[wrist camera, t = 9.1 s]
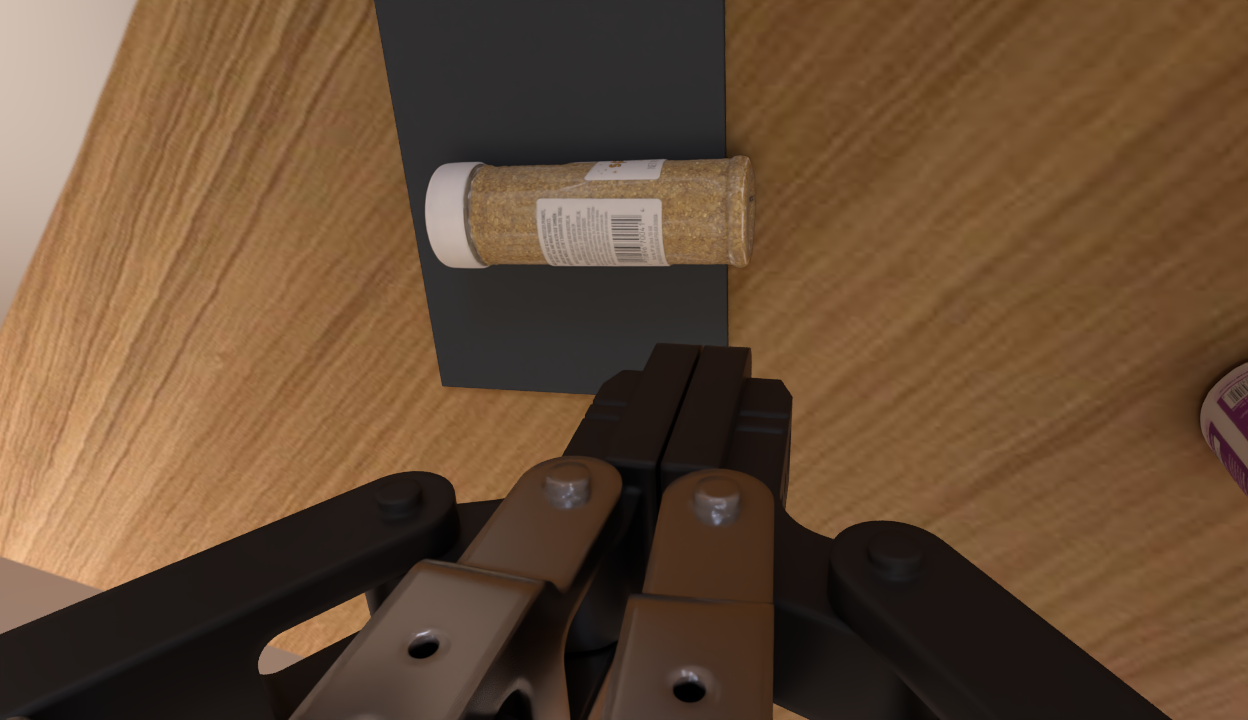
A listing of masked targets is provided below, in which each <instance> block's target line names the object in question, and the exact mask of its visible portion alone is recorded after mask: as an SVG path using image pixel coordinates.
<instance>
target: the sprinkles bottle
mask: <svg viewBox="0 0 1248 720" xmlns="http://www.w3.org/2000/svg"><path fill="white" fill-rule="evenodd" d="M425 219H426V228H427V233H428V237H429V241H430V244H431V246H432V249H433V251H434V253H435V254H436V256H437V258H438V259H439V260H440V261H441V262H442V263H443V264H445V265H446V266H449V267H453V268H486V267H488V266H490V265H493V264H495V265H498V264H528V265H529V264H549V265H552V266H670V265H672V264H731V265H733V266H735V267H745V266H746V265H747V264H748V263H749V261H750V258H751V255H752V247H753V232H754V220H755V177H754V172H753V167H752V164H751V162H750V159H749V158H748V157H746V156H743V155H737V156H734V157H733V158H730V159H728V158H724V159H706V160H705V159H699V160H677V161H674V160H670V161H669V160H667V159H656V160H631V161H602V162H577V163H568V164H564V165H534V166H533V165H527V166H510V167H508V166H501V167H495V166H493V165H486V164H484V163H482V162H462V163H448V164H444V165H442V166H440V167H439V168H438V169H437V170H436V171H435V172H434V174H433V176H432V177H431V180H430V182H429V185H428V189H427V194H426V202H425Z"/></svg>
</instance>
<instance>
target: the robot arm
mask: <svg viewBox="0 0 1248 720" xmlns="http://www.w3.org/2000/svg"><path fill="white" fill-rule="evenodd" d="M751 368H752V357H751V348H748V347H730V346H713V345H705V346H704V348H703V346H702V345H693V344H675V343H656V345H655V347H654V349H653V351H652V353H651V355H650V357H649V359H648V361H647V363H646V365H645V367H644V369H643V371H637V370H622V371H621V372H619V373H618V374H616V375H615V376H613V377H612V378H610V379H609V380H607V381H606V382H604V383H603V384H602V386H601V387H600V389H599V391H598V393H597V395H596V396H595V398H594V400H593V404H591V405H590V407H589V409H588V411H587V412H586V414H585V418H583V419H582V421H581V423H580V425H579V427H578V428H577V430H576V432H575V434H574V435H573V437H572V439H571V441H570V443H569V444H568V446H567V448H566V450H565V451H564V453H563V455H562V457H558V458H553V459H550V460H547V461H544V462H541V463H539V464H537V465H535V466H534V467H532V468H530V469H529V470H528V471H526V472H525V473H524V474H523V475H522V476H521V477H520V479H519V480H518V481H517V483H516V484H515V485H514V487H513V488H512V489H511V491H510V492H509V493H508V495H507V496H506V497H505V498H503V499H497V500H489V501H479V502H470V503H460V504H457V502H456V496H455V490H454V488H453V485H452V484H451V483H450V482H449V480H447V479H446V478H444V477H442V476H440V475H438V474H434V473H431V472H424V471H410V472H402V473H396V474H392V475H388V476H385V477H382V478H380V479H377V480H375V481H372V482H370V483H367V484H365V485H362V486H360V487H358V488H355V489H353V490H350V491H348V492H345V493H343V494H341V495H338V496H336V497H333V498H331V499H328V500H326V501H324V502H321V503H319V504H316V505H314V506H311V507H309V508H307V509H304V510H302V511H299V512H297V513H294V514H292V515H289V516H287V517H285V518H282V519H280V520H277V521H275V522H272V523H270V524H268V525H265V526H263V527H260V528H258V529H255V530H253V531H251V532H248V533H246V534H243V535H241V536H238V537H236V538H234V539H231V540H229V541H226V542H224V543H221V544H219V545H216V546H214V547H212V548H209V549H207V550H204V551H202V552H199V553H197V554H195V555H192V556H190V557H187V558H185V559H182V560H180V561H178V562H175V563H173V564H170V565H168V566H165V567H163V568H160V569H158V570H156V571H153V572H151V573H148V574H146V575H143V576H141V577H139V578H136V579H134V580H131V581H129V582H126V583H124V584H122V585H119V586H117V587H114V588H112V589H109V590H107V591H105V592H102V593H100V594H97V595H95V596H93V597H90V598H88V599H85V600H83V601H80V602H78V603H75V604H73V605H70V606H68V607H66V608H63V609H61V610H58V611H56V612H53V613H51V614H49V615H46V616H44V617H41V618H39V619H37V620H34V621H32V622H29V623H27V624H24V625H22V626H19V627H17V628H15V629H12V630H10V631H7V632H5V633H3V634H0V720H773V703H774V704H776V705H779V706H781V707H783V708H785V709H787V710H789V711H792V712H794V713H796V714H798V715H800V716H803V717H805V718H807V719H809V720H1172V719H1171V718H1169V717H1168V716H1167V715H1166V714H1164V713H1163V712H1162V711H1161V710H1159V709H1158V708H1157V707H1155V706H1154V705H1153V704H1152V703H1150V702H1149V701H1148V700H1146V699H1145V698H1144V697H1143V696H1141V695H1140V694H1139V693H1137V692H1136V691H1135V690H1134V689H1132V688H1131V687H1130V686H1129V685H1127V684H1126V683H1125V682H1123V681H1122V680H1121V679H1120V678H1118V677H1117V676H1116V675H1114V674H1113V673H1112V672H1111V671H1109V670H1108V669H1107V668H1105V667H1104V666H1103V665H1102V664H1100V663H1099V662H1098V661H1097V660H1095V659H1094V658H1093V657H1091V656H1090V655H1089V654H1088V653H1086V652H1085V651H1084V650H1082V649H1081V648H1080V647H1079V646H1077V645H1076V644H1075V643H1073V642H1072V641H1071V640H1070V639H1068V638H1067V637H1066V636H1065V635H1063V634H1062V633H1061V632H1059V631H1058V630H1057V629H1056V628H1054V627H1053V626H1052V625H1050V624H1049V623H1048V622H1047V621H1045V620H1044V619H1043V618H1041V617H1040V616H1039V615H1038V614H1036V613H1035V612H1034V611H1033V610H1031V609H1030V608H1029V607H1027V606H1026V605H1025V604H1024V603H1022V602H1021V601H1020V600H1018V599H1017V598H1016V597H1015V596H1013V595H1012V594H1011V593H1010V592H1008V591H1007V590H1006V589H1004V588H1003V587H1002V586H1001V585H999V584H998V583H997V582H995V581H994V580H993V579H992V578H990V577H989V576H988V575H986V574H985V573H984V572H983V571H981V570H980V569H979V568H978V567H976V566H975V565H974V564H972V563H971V562H970V561H969V560H967V559H966V558H965V557H963V556H962V555H961V554H960V553H958V552H957V551H956V550H954V549H953V548H952V547H951V546H949V545H948V544H947V543H946V542H944V541H943V540H941V539H940V538H939V537H937V536H936V535H934V534H932V533H930V532H928V531H926V530H924V529H921V528H919V527H916V526H913V525H910V524H906V523H901V522H895V521H868V522H862V523H859V524H855V525H853V526H850V527H848V528H846V529H845V530H843V531H842V532H840V533H839V534H838V535H837V536H836V537H835V539H832V538H829V537H826V536H823V535H820V534H818V533H815V532H813V531H811V530H809V529H807V528H805V527H803V526H802V525H800V524H799V523H797V522H796V521H795V520H794V519H793V518H792V517H790V516H789V514H788V513H787V512H786V511H785V508H786V499H787V491H788V483H789V468H790V445H791V421H792V398H793V397H792V395H791V394H790V392H789V391H788V389H787V388H786V386H785V385H784V383H783V382H782V380H776V379H761V378H751ZM364 592H365V595H366V599H367V603H368V607H369V611H370V615H371V618H370V620H369V621H368V622H367V623H366V625H365V626H364V627H363V628H362V629H361V630H360V631H358V632H356V633H354V634H352V635H350V636H348V637H346V638H344V639H342V640H340V641H338V642H336V643H334V644H332V645H330V646H328V647H326V648H324V649H322V650H320V651H318V652H316V653H314V654H312V655H310V656H308V657H306V658H305V659H303V660H301V661H299V662H297V663H295V664H293V665H291V666H289V667H287V668H285V669H283V670H281V671H278V672H276V673H273V674H267V675H262V674H259V670H258V660H259V657H260V654H261V652H262V651H263V649H264V647H265V646H266V645H267V644H268V643H269V642H270V641H271V640H272V639H273V638H274V637H276V636H277V635H278V634H280V633H282V632H284V631H286V630H288V629H290V628H292V627H294V626H296V625H298V624H300V623H302V622H304V621H306V620H309V619H311V618H313V617H315V616H317V615H319V614H321V613H323V612H325V611H327V610H329V609H331V608H333V607H335V606H337V605H340V604H342V603H344V602H346V601H348V600H350V599H352V598H354V597H356V596H358V595H360V594H362V593H364Z"/></svg>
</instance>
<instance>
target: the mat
mask: <svg viewBox="0 0 1248 720" xmlns="http://www.w3.org/2000/svg"><path fill="white" fill-rule="evenodd" d="M374 2H375V8H376V14H377V19H378V25H379V31H380V36H381V42H382V48H383V53H384V59H385V65H386V70H387V76H388V82H389V87H390V93H391V99H392V104H393V110H394V116H395V121H396V127H397V133H398V138H399V144H400V150H401V155H402V161H403V166H404V172H405V178H406V183H407V189H408V195H409V200H410V206H411V212H412V217H413V223H414V229H415V234H416V240H417V246H418V251H419V257H420V263H421V268H422V274H423V280H424V285H425V291H426V297H427V302H428V308H429V314H430V319H431V325H432V331H433V336H434V342H435V348H436V353H437V359H438V365H439V370H440V376H441V382H442V386H447V387H465V388H483V389H501V390H519V391H537V392H555V393H572V394H590V395H597V393H598V391H599V389H600V387H601V386H602V384H603V383H604V382H606V381H607V380H609V379H610V378H612V377H613V376H615V375H616V374H618V373H619V372H621V371H622V370H637V371H643V369H644V367H645V365H646V363H647V361H648V359H649V357H650V355H651V353H652V351H653V349H654V347H655V345H656V343H675V344H693V345H702V346H703V348H704V346H705V345H713V346H728V265H727V264H672V265H670V266H552V265H549V264H529V265H528V264H498V265H495V264H493V265H490V266H488V267H486V268H453V267H449V266H446V265H445V264H443V263H442V262H441V261H440V260H439V259H438V258H437V256H436V254H435V253H434V251H433V249H432V246H431V244H430V241H429V237H428V233H427V228H426V219H425V202H426V194H427V189H428V185H429V182H430V180H431V177H432V176H433V174H434V172H435V171H436V170H437V169H438V168H439V167H440V166H442V165H444V164H448V163H462V162H482V163H484V164H486V165H493V166H495V167H501V166H508V167H510V166H527V165H533V166H534V165H564V164H568V163H577V162H602V161H631V160H656V159H667V160H669V161H670V160H674V161H677V160H699V159H705V160H706V159H724V158H726V82H725V0H374Z"/></svg>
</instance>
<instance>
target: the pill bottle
mask: <svg viewBox="0 0 1248 720" xmlns="http://www.w3.org/2000/svg"><path fill="white" fill-rule="evenodd" d="M1200 423H1201V430H1202V434H1203V436H1204V438H1205V440H1206V442H1207V444H1208V445H1209V446H1210V448H1211V449H1212V451H1213V452H1214V453H1215V455H1216V456H1217V457H1218V459H1219V460H1220V462H1221V463H1222V464H1223V466H1224V467H1225V468H1226V469H1227V471H1228V472H1229V473H1230V475H1231V476H1232V477H1233V479H1234V480H1235V481H1236V483H1237V484H1238V485H1239V487H1240V488H1241V489H1242V491H1243V492H1244V493H1245V494H1246V496H1247V497H1248V362H1247V363H1245V364H1243V365H1241V366H1239V367H1237V368H1235V369H1233V370H1232V371H1231V372H1229V373H1228V374H1227V375H1226V376H1224V377H1223V378H1222V379H1221V380H1220V381H1219V382H1218V383H1216V385H1215V386H1214V387H1213V388H1212V389H1211V390H1210V391H1209V392H1208V394H1207V397H1206V399H1205V401H1204V403H1203V405H1202V409H1201V415H1200Z"/></svg>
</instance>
